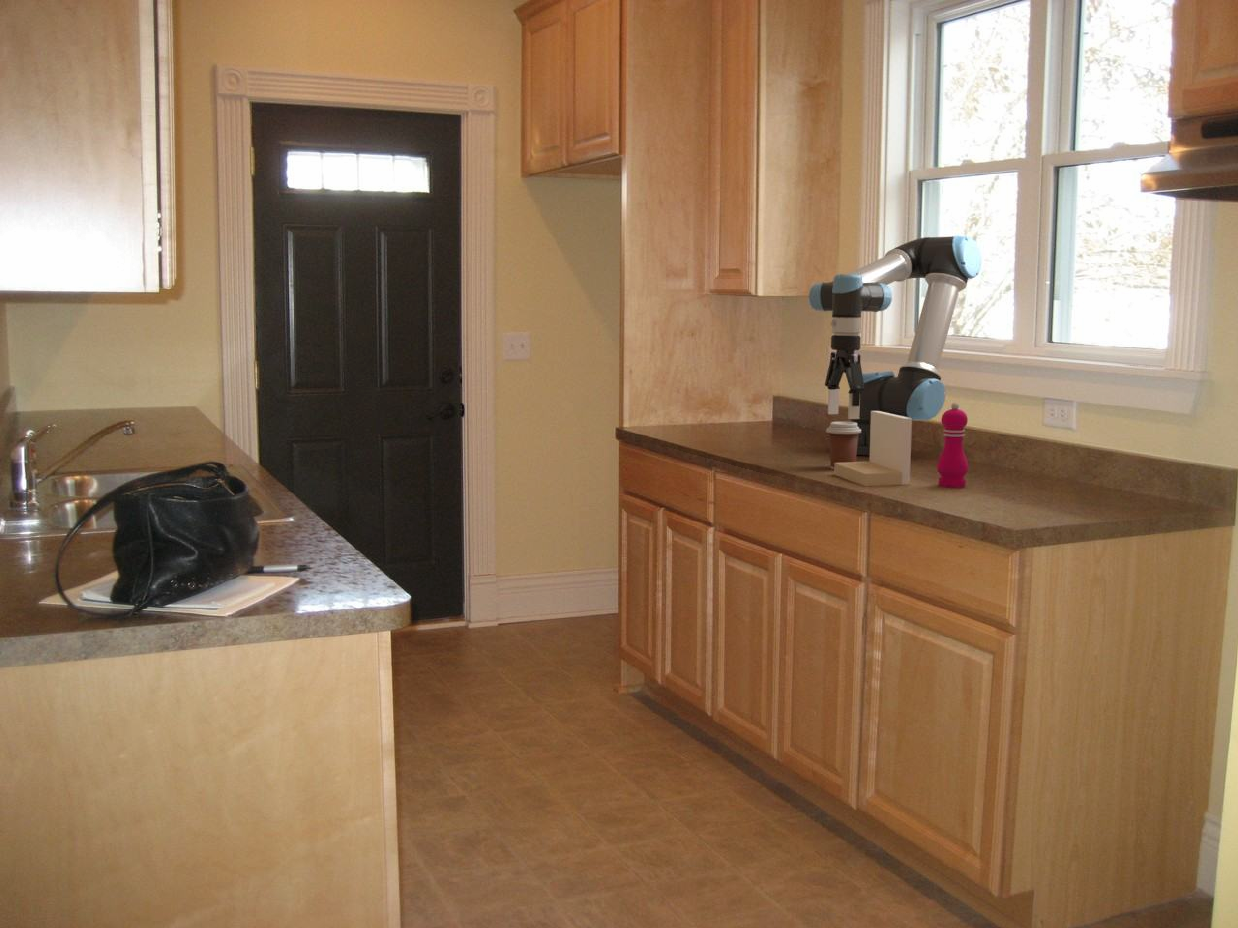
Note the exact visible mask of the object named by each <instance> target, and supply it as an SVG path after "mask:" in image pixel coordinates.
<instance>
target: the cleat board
mask: <svg viewBox="0 0 1238 928" xmlns="http://www.w3.org/2000/svg"><path fill="white" fill-rule="evenodd" d="M912 426H913V420H912V418H908V417H904V416H899V415H895V414H890V413H886V412H881V411H871V427H870V456H869V461H856V462H848V463H835V467H834V469H833V470H834V471H833V474H834V476H837V477H840V478H841V479H842V478H843V479H845V480H848V481H850V482H853V483H855V484H858V485H861V486H863V487H872V486H873V487H881V486H882V487H883V486H904V485H906V486H907V485H911V458H912V457H911V455H912V454H911V453H912V431H913V430H912V428H913V427H912Z"/></svg>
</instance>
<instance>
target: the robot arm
mask: <svg viewBox="0 0 1238 928" xmlns="http://www.w3.org/2000/svg"><path fill="white" fill-rule="evenodd" d="M981 257H982V256H981V251H980V247H979V246H978V244H977V242H976V241H975V239H973V238H972V237H970V236H965V235H963V236H962V235H954V236H932V237H931V236H925V237H920V238H919V237H918V238H916V239H913V240H910V241H907V242H906V243H903V244H900V245H899V246H897V247H894V248H892V249H890V250H888V251H887V252H885V254H884V257H881V258H879V259H877V260H875V261H873V262H871V263H868V264H867V265H865V266H862V267H860V268H858V269H856V270H854V271H852V272H849V273H846V274H844V273H843V274H842V273H841V274H836V275H834V277H833V280H832V281H830V282H818V283H814V284H813V285H812V287H811V288H810V289H809V293H808V298H809V304H810V306H811V307H812V308H813V309H814V310H815V311H822V312H832V314H831V321H830V323H829V324H830V326H831V334H833V335H831V337H830V349H831V350H835V351H834V352H833V351H832V352H830V357H829V358H830V359H829V364H828V368H827V373H826V377H825V380H824V381H825V382H824V386H825V387H827V391H828V394H827V395H828V396H827V400H828V401H827V415H839V408H840V407H839V406H840V404H839V402H840V389H841V388H840V382H841V381H842V378H843V375H844V374H845V376H846V380H847V384H848V387H849V390H848V391H847V392H848V409H847V410H848V412H847V413H848V414H847V415H848V416H847V419H848V420H850V422H855V423H857V427H859V429H861V433H859V434H858V444H857V453H856V456H869V457H870V427H871V411H881V412H886V413H890V414H895V415H899V416H904V417H908V418H912V422H913V421H915V422H916V421H917V422H919V421H929V420H932V419H933V418H935V417H936V416H938V414H940V412H941V410H942V408H943V407H944V403H945V400H946V393H945V392H946V387H945V385H944V383H943V382H942V381H941V380H942V376H941V374H940V373H939V368H940V367H939V366H940V364H941V359H942V355H943V351H944V349H945V344H946V340H947V338H948V337H947V336H948V333H949V330H950V327H951V322H952V319H953V315H954V311H955V308H956V304H957V300H958V296H959V293H960V292H962V291H964V290H965V289H966V287H967V284H968V281H969V280H970V279H971V280H972V279H973V278H975V277H977V276H978V275H979V273H980V270H981V265H982V258H981ZM909 279H924V280H925V282H926V283H927V284H928V285H927V290H926V293H925V297H924V300H923V303H922V307H921V311H920V315H919V317H918V322H917V326H916V330H915V333H914V336H913V341H912V344H911V348H910V351H909V354H908V358H907V363H905V364H903V365H901V366H900V367H899V370H898V374H897V376H895V374H894V371H891V370H890V371H878V372H868V373H863V371H862V364H861V354H860V353H859V354H856V353H855V351H858V350H860V349H861V339H862V338H861V335H860V334H861V333H862V312H868V313H869V312H872V313H878V312H884V311H885V310H887V309H888V308H889V307H890V306H891V303H892V300H893V296H892V295H893V294H892V291H891V288H890V287H889V285H891V284H892V283H894V282H899V283H901V282H904V281H907V280H909Z"/></svg>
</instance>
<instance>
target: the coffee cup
mask: <svg viewBox="0 0 1238 928" xmlns="http://www.w3.org/2000/svg"><path fill="white" fill-rule="evenodd" d="M829 424H830V425H829V426H828V428H826V429H825V431H826V433H827V434H828V444H829V462H830V465H829V468H830V470H834V467H835V463H848V462H857V455H856V453H857V444H858V434H859V433H861V429H859V427H857V423H855V422H851V421H832V422H830V423H829Z"/></svg>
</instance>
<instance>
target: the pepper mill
mask: <svg viewBox="0 0 1238 928" xmlns="http://www.w3.org/2000/svg"><path fill="white" fill-rule="evenodd" d="M959 407H960V404H959V403H958V402H952V403H951V407H950V408H951V409H947V410H945V411H944V412H943V414H942V416H941V425H942V426H943V428H944V429H943V430H942V431H943V433H942V435H943V436H944V447H943V450H942V451H941V454H940V457H939V459H938V461H937V466H936V470H937V472H938V473H939V474H940V476H941V477H939V478H938V486H939V487H942V488H949V489H950V488H951V489H953V488H955V489H959V488H965V487H966V485H967V483H966V482H967V479H966V478H965V476H966V474H967V473H968V472H969V462H968V459H967V456H966V454H965V451H964V446H963V445H964V443H963V440H964V437H965V435H966V434H965V432H966V430H965V427H967V424H968V421H969V420H968V419H969V418H968V415H967V413H966V412H965V411H963V410H961V409H959Z"/></svg>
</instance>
